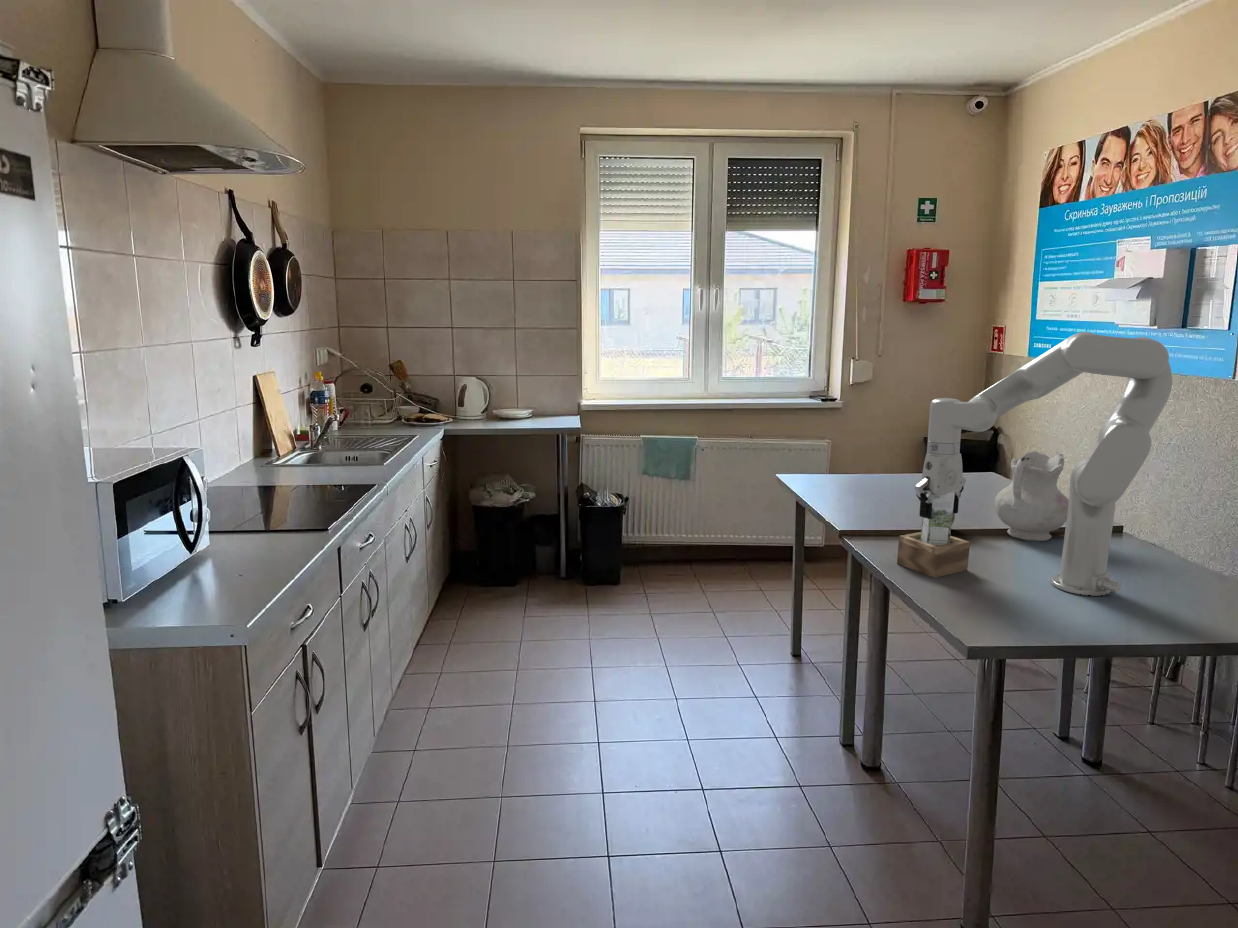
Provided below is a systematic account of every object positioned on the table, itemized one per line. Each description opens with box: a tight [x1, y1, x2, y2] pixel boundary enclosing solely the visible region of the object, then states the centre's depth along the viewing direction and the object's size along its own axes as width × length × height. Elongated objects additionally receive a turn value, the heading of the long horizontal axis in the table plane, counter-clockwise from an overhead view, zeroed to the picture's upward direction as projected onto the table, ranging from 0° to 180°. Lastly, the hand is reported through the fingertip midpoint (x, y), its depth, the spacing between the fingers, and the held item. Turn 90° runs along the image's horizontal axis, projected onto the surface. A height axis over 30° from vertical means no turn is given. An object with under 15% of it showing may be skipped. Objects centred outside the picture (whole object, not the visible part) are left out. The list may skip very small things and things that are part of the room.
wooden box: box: [896, 531, 971, 578], centre depth 210 cm, size 12×12×8 cm
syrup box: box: [920, 490, 955, 546], centre depth 207 cm, size 6×6×14 cm
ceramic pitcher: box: [994, 450, 1069, 542], centre depth 235 cm, size 22×20×25 cm
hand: (938, 514), depth 207 cm, fingers open, 9 cm apart
